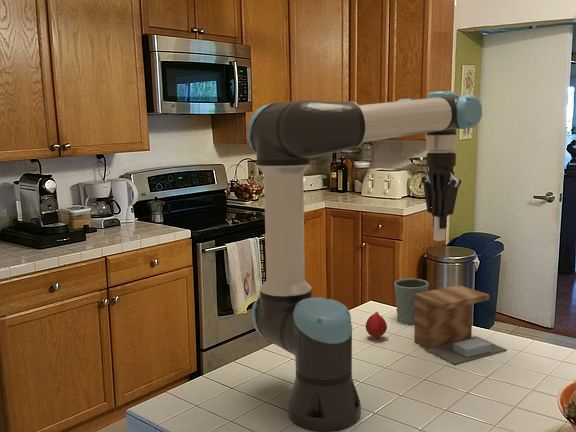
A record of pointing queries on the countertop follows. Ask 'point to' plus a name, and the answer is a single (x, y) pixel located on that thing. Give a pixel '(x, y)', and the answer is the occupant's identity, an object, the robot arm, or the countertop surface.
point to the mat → (456, 358)
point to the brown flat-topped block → (445, 315)
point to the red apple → (376, 325)
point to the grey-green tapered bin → (408, 298)
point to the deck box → (471, 347)
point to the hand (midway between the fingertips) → (439, 240)
